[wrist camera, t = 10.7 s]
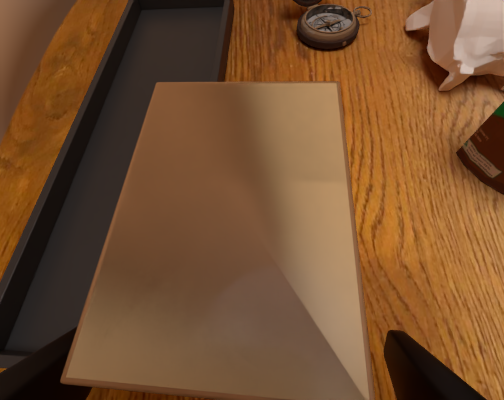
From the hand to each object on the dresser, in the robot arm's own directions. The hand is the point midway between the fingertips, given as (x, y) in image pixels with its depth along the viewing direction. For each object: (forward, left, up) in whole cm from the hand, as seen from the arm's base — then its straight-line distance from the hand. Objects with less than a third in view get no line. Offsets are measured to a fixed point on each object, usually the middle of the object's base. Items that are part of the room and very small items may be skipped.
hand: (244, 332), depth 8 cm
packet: (+3, +1, -8) cm, 8 cm away
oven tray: (+12, +13, -8) cm, 19 cm away
